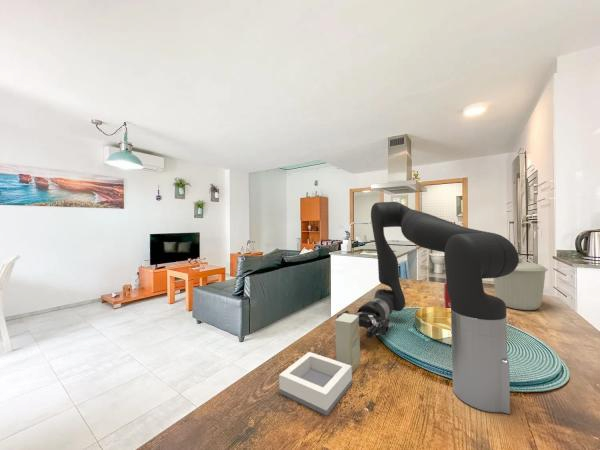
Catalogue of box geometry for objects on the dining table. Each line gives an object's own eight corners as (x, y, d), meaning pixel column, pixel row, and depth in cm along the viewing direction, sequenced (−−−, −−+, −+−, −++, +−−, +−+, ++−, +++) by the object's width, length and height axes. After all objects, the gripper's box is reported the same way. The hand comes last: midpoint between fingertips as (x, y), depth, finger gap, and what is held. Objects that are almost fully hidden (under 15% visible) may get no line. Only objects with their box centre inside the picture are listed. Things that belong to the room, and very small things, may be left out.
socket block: (352, 383, 56) (351, 365, 56) (326, 416, 47) (326, 394, 47) (309, 367, 63) (308, 351, 63) (279, 393, 54) (279, 374, 54)
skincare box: (352, 374, 60) (351, 323, 60) (335, 369, 62) (333, 320, 62) (361, 361, 65) (359, 315, 65) (344, 357, 67) (343, 312, 67)
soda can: (469, 313, 97) (468, 282, 97) (451, 314, 97) (450, 283, 97) (458, 307, 104) (457, 278, 104) (441, 308, 104) (440, 279, 104)
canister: (486, 306, 104) (484, 256, 104) (495, 297, 116) (493, 252, 116) (547, 317, 91) (545, 259, 91) (550, 305, 103) (548, 254, 103)
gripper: (352, 297, 83) (328, 312, 70) (397, 304, 75) (379, 322, 62) (353, 320, 83) (329, 338, 70) (397, 329, 75) (380, 353, 62)
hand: (352, 331), depth 66 cm, fingers open, 8 cm apart
